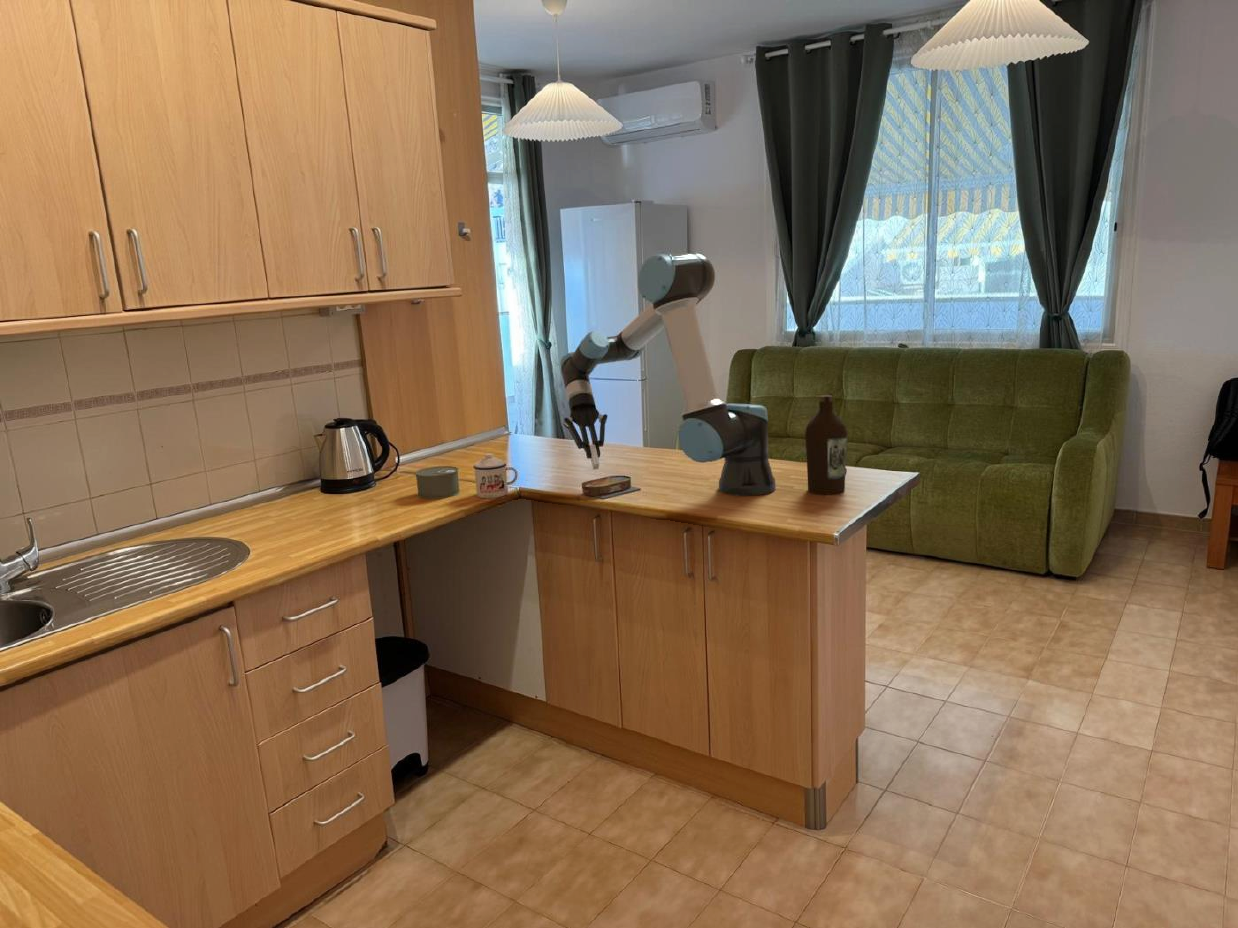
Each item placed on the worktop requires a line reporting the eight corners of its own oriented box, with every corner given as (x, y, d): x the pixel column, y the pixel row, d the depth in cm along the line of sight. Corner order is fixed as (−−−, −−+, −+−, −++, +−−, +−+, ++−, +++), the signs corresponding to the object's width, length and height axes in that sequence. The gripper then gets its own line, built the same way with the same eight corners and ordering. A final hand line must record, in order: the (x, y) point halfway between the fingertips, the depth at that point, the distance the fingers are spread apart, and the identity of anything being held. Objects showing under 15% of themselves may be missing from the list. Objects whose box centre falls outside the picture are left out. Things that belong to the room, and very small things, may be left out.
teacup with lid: (477, 500, 239) (473, 458, 236) (474, 492, 247) (471, 452, 245) (521, 495, 241) (517, 454, 239) (517, 488, 250) (513, 448, 247)
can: (431, 488, 256) (428, 465, 254) (467, 489, 252) (465, 466, 251) (409, 499, 245) (407, 475, 243) (447, 500, 241) (445, 476, 240)
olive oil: (797, 490, 230) (796, 396, 225) (825, 483, 236) (825, 391, 230) (827, 497, 222) (826, 400, 216) (855, 490, 227) (856, 395, 222)
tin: (619, 474, 247) (637, 476, 241) (620, 484, 248) (638, 487, 241) (575, 483, 239) (592, 485, 232) (576, 494, 239) (593, 497, 232)
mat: (640, 489, 240) (640, 488, 240) (603, 499, 232) (603, 497, 232) (620, 484, 247) (620, 483, 247) (583, 493, 239) (583, 492, 239)
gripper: (601, 405, 258) (617, 471, 246) (557, 409, 255) (572, 476, 243) (604, 389, 252) (620, 456, 239) (559, 393, 249) (574, 461, 237)
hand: (596, 466), depth 241 cm, fingers closed
